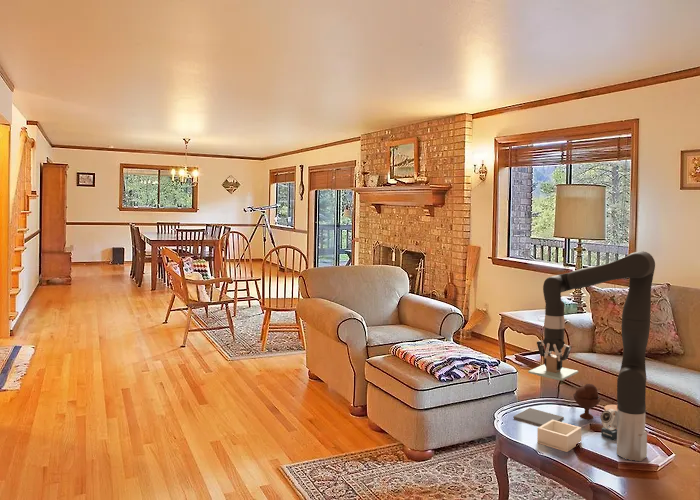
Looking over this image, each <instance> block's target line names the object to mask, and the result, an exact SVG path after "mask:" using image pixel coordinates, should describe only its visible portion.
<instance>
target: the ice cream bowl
mask: <svg viewBox="0 0 700 500" xmlns="http://www.w3.org/2000/svg"><path fill="white" fill-rule="evenodd" d="M573 399H574V401H575V402H576V404H577V405H578V406H580V407H581V408H583V410H584V412H583V413H582V414H580V415H579V418H580V419H583V420H588V421H589V420H593V419H594V416H593V415H592V414H591V413H590V409H593V408H596V406H597V405H599V403H600V402H601V399H602V396H600V395H599V394H598V389H597V387H596V386H595V385H594V384H593V383H585V385H583V386H579V387H578V388H577V389H576V390H575V393H573Z"/></svg>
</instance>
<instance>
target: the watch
mask: <svg viewBox="0 0 700 500" xmlns="http://www.w3.org/2000/svg"><path fill="white" fill-rule="evenodd" d="M614 413H615V417H614V419H613V414H614ZM600 421H601V422H600V423H601V424H602V426H603V427H601V429H600V432H601V437H604V438H607V439H609V440H611V441H617V429H616V427H617V411H616V410H613V409H608V410H606V411H604V410H603V412H602V413H601V414H600ZM612 421H613V423H612V426H611V427H610V426H609V425H610V423H611V422H612Z"/></svg>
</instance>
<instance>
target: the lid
mask: <svg viewBox="0 0 700 500" xmlns="http://www.w3.org/2000/svg"><path fill="white" fill-rule="evenodd" d="M557 361H558V360H557V356H556V354H552V353H551V354H550V355H548V356H547V357H546V366H545V363H544V364H541V365H539V366H537V367H534V368H533V369H532V368H531V369H530V370H528V371H527V372H528V374H531V375H536V376H538V377H543V378H548V379H552V380H555V381H561V382H562V381H564V380H566V379H568V378H570V377H573V376H575V375H576V374H579V370H576V369H572V368H568V367H563V366H562V369H561V370H557Z"/></svg>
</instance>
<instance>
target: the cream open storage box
mask: <svg viewBox="0 0 700 500" xmlns="http://www.w3.org/2000/svg"><path fill="white" fill-rule="evenodd" d="M536 430H537V435H536V436H537V439H536V440H537V441H536V442H537V444H540V445H543V446H547V447H549V448H553V449H557V450H559V451H562V452H566V453H567V452H569V451H571V450H572V449H574V448H575V447H577V446H576V444H577V443H578V442H580V441H581V442H582V427H581V426H578V425H573V424H570V423H566V422H563V421H556V420H551V421H549V422H547V423H545V424H544V425H542V426H538V427H537V429H536Z"/></svg>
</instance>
